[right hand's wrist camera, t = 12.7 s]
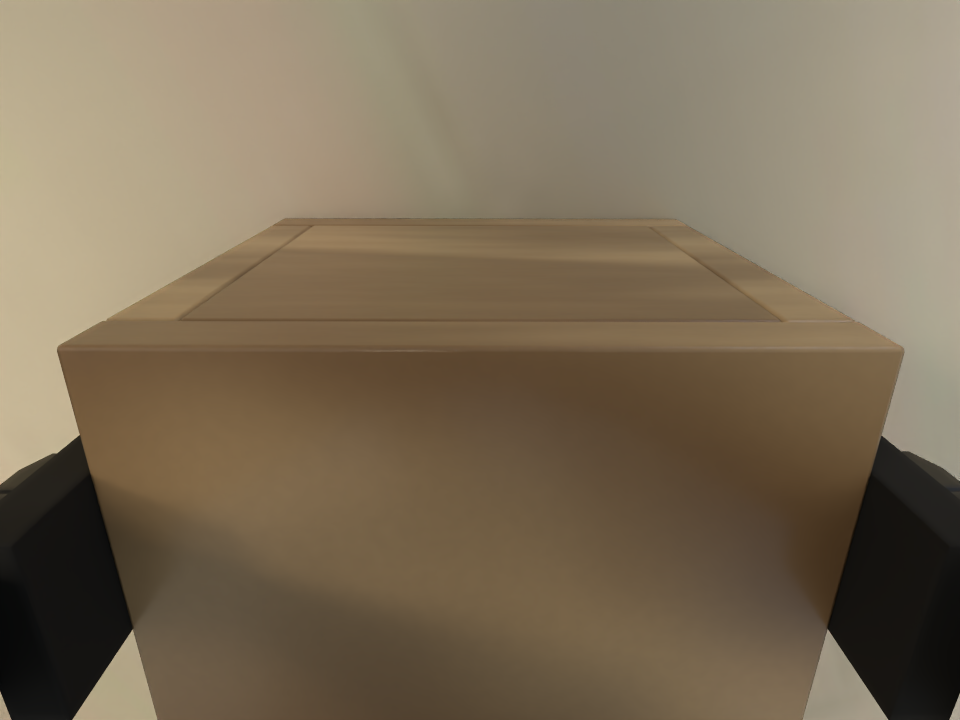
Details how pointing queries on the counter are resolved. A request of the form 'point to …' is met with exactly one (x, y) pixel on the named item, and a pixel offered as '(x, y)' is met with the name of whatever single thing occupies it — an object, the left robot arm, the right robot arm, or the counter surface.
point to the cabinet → (480, 473)
